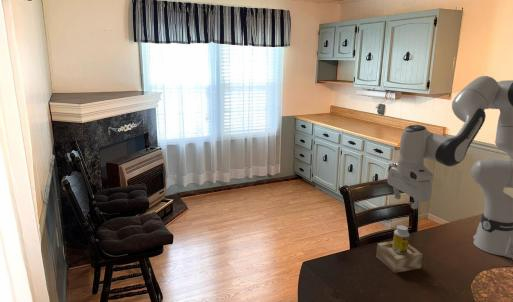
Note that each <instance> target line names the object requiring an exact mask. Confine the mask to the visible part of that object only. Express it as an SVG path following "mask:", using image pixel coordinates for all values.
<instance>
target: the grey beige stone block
mask: <svg viewBox="0 0 513 302" xmlns="http://www.w3.org/2000/svg"><path fill="white" fill-rule="evenodd" d="M392 246H393V240H390V241H384V242H378V243H377V244H376V252H375V253H376V255H375V257H376V258H377V259H378V260H380V261H381V262H382V263H383V264H384V265H385V266H386V267H387V268H389V269H390V270H391V271H392V272H393V273H394V274H396V273H403V272H407V271H413V270H418V269H421V268H422V264H423V256H424V254H423V253H422V252H420V251H419V250H418V249H416V248H415V247H413V246H412V245H411V244H410V243H408V248H407V252H406V253H405V254H399V253H396V252H394V251H393V250H392Z"/></svg>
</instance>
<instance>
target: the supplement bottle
mask: <svg viewBox="0 0 513 302" xmlns="http://www.w3.org/2000/svg"><path fill="white" fill-rule="evenodd" d="M409 239H410V233H409V228H408V227H407V226H405V225H401V224H400V225H397V226H396V229H395V230H394V231H393V240H392V241H393V246H392V250H393V251H394V252H396V253H399V254H405V253H406V252H407V248H408V244H409Z"/></svg>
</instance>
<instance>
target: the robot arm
mask: <svg viewBox="0 0 513 302" xmlns="http://www.w3.org/2000/svg"><path fill="white" fill-rule="evenodd" d="M451 109H452V112H453V114H454V115H455V116H456V118H457V119H458V120H460V121H462V122H463V124H462V126H461V128H460V129H459V131H458V132H457V134H456V135H453V136H445V135H442V134H441V135H440V134H439V133H434V132H431V131H429V130H428V128H427V127H426V126H424V125H421V124H420V125H419V124H411V125H407V126H406V127H405V128H403V130H402V134H401V137H400V143H399V156H398V159H397V162H393V163H391V165H390V168H389V171H388V174H387V179H386V180H387V181H386V182H387V184H388V185H389V186H392V190H393V194H394V199H396V200H401V197H402V195H401V194H400V191H401V192H402V193H404V194H406V195H408V196H410V197H411V198H413V201H414V202H411V204H410V208H411V209H413V210H417V209H418V208H419V207H418V206H419V204H421V203H422V202H423V203H424V202H428V201H429V200H431V198H432V192H433V183H432V181H433V180H434V174H433V173H432V172H431V171H430V170H428V168H427V166H425V165H424V164H425V159H428V160H431V161H435V162H438V164H441V165H444V166H447V167H454V166H456V165H458V164H460V163H461V162H462V161H464V159H465V157H466V154H467V151H468V149H469V147H470V146H471V144H472V143H473V141H474V140H475V138H476V137H477V135H478V134H479V132H480V130H481V129H482V128H483V127H482V126H483V125H484V123H485V121H486V116H487V115H486V112H485V110H489V109H491V110H499V112H500V113H499V115H498V120H497V126H496V134H495V141H494V143H495V146H496V147H497V149H499V150H500V151H502V152H504V153H506V154H508V156H509V160H503V159H493V158H492V159H491V158H490V159H478V160H476V161H475V162H474V163H473V164H472V166H471V169H470V174H471V177H472V179H473V181H474V182H475V183H477V185H478V186H480V188H481V189H482V191H483V193H484V198H485V199H484V209H483V213H481V217H480V222H479V224H478V226H477V229H476V232H475V234H474V235H473V244H474V246H475V247H476V248H478V249H480V250H481V251H484V252H486V253H488V254H490V255H491V254H492V255H496V256H502V257H506V258H509V259H513V196H510V194H508V193H505V192H504V190H505V188H510V189H513V80H512V79H511V80H500V81H497V80H496V79H495V78H493V77H491V76H489V75H482V76H479V77H476V78H475V79H474V80H472V81H470V82H469V83H468V84H467V85H465V87H464V88H463V89H461V90H460V92H459V93H458V94H457V95H455V97H453V100H452V103H451Z"/></svg>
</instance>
